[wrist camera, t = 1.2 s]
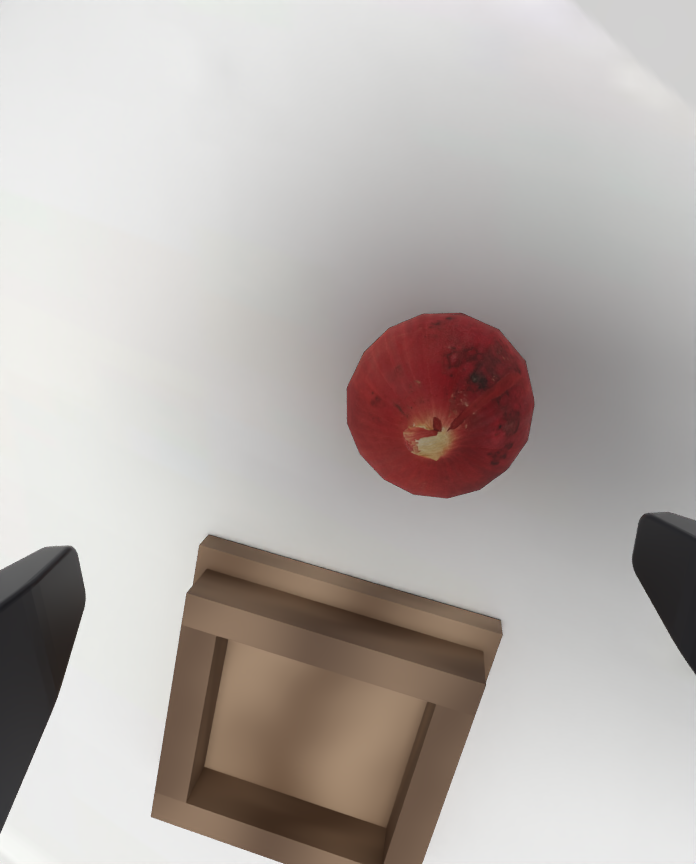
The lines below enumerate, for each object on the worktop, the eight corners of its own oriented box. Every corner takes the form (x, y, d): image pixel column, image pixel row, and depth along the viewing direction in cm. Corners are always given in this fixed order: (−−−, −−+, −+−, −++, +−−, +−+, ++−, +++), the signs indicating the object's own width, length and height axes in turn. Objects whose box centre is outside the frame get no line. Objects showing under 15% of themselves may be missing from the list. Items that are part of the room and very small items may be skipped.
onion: (449, 272, 21) (448, 271, 13) (552, 391, 21) (608, 455, 14) (334, 378, 23) (276, 430, 15) (432, 485, 23) (423, 589, 15)
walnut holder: (500, 620, 24) (507, 667, 21) (416, 860, 28) (412, 926, 25) (208, 534, 25) (178, 567, 23) (168, 775, 29) (138, 829, 27)
